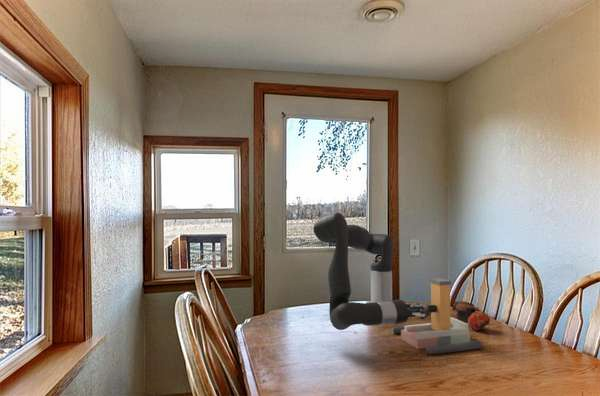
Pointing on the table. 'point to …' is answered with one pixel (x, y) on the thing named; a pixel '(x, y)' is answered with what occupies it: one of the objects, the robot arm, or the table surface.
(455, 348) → the dark grey bar
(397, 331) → the cord bundle
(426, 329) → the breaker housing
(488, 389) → the table surface
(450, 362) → the table surface
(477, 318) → the pomegranate
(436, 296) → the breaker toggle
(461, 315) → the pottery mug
